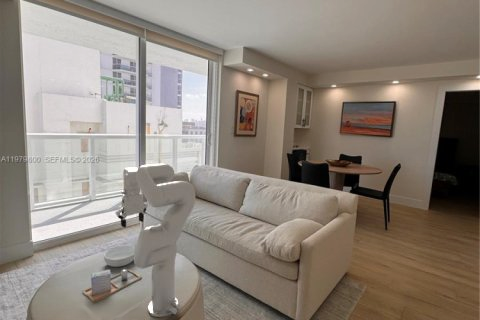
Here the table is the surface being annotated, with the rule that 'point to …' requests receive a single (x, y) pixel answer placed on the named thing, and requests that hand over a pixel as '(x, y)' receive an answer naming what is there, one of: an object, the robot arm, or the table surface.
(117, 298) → the table surface
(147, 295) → the table surface
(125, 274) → the peg
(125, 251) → the cereal bowl
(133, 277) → the board
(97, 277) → the medicine box
